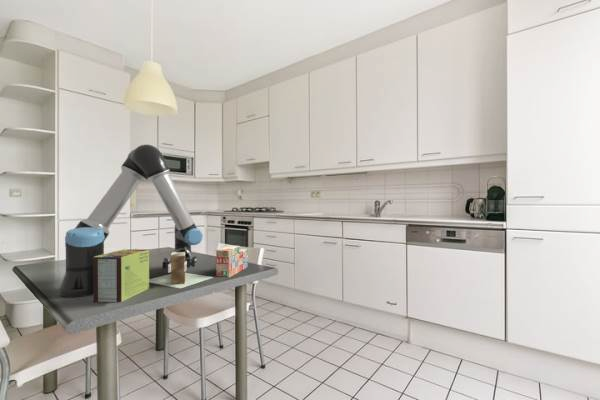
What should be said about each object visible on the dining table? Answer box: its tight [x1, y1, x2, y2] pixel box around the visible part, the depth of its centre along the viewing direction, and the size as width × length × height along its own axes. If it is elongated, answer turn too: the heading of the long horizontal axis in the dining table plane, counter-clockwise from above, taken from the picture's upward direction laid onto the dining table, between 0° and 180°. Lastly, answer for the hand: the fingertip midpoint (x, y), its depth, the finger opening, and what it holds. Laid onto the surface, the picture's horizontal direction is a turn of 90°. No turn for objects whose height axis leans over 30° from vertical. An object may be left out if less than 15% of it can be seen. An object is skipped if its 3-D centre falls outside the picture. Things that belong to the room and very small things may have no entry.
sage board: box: [149, 272, 215, 289], centre depth 125 cm, size 22×18×1 cm
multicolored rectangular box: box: [215, 245, 249, 278], centre depth 140 cm, size 21×6×12 cm, turn 167°
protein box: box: [92, 248, 150, 304], centre depth 105 cm, size 10×15×16 cm
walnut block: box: [170, 251, 186, 285], centre depth 119 cm, size 5×5×12 cm
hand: (177, 268), depth 114 cm, fingers closed on walnut block, 5 cm apart
